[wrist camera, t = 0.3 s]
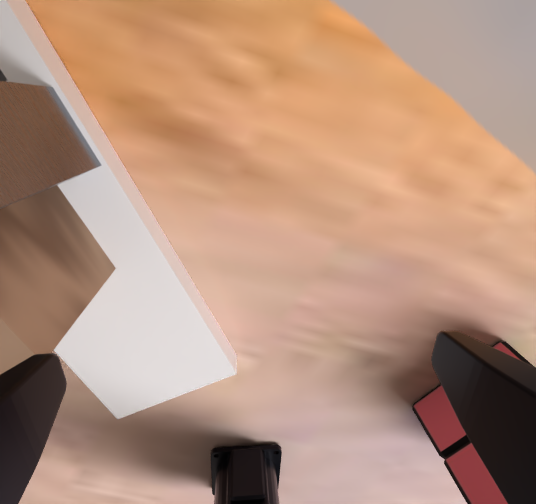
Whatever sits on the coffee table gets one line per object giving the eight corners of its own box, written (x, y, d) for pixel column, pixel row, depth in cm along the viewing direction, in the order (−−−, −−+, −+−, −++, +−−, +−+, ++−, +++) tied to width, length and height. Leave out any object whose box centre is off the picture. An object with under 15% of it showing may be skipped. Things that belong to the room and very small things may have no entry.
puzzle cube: (408, 404, 30) (483, 534, 21) (500, 336, 27) (631, 450, 18) (465, 447, 33) (551, 575, 24) (552, 390, 31) (684, 508, 22)
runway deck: (236, 355, 26) (236, 373, 24) (125, 398, 26) (117, 419, 25) (-29, -90, 14) (-68, -119, 12) (-209, 10, 15) (-271, -3, 13)
